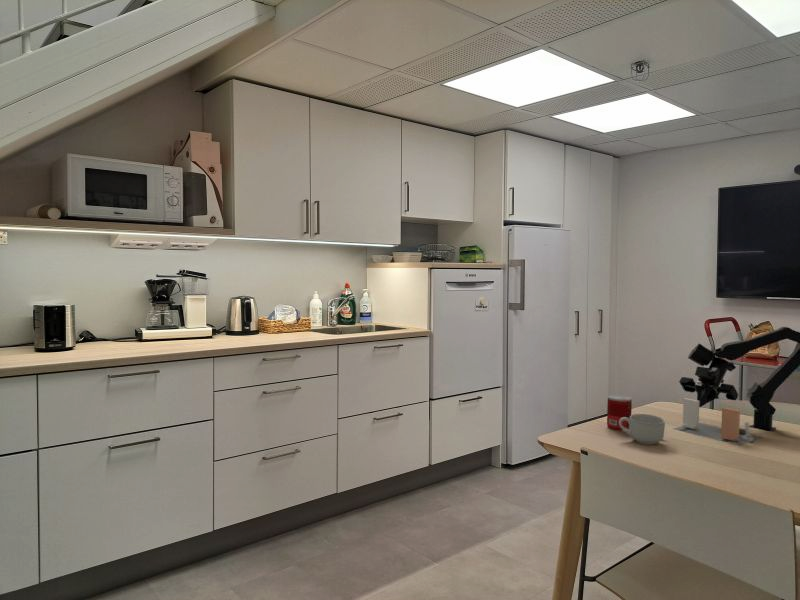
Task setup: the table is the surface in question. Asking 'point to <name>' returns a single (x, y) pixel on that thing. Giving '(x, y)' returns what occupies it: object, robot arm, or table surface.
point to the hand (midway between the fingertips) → (698, 406)
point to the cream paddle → (690, 413)
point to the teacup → (645, 428)
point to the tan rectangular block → (730, 424)
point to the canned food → (618, 411)
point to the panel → (716, 433)
